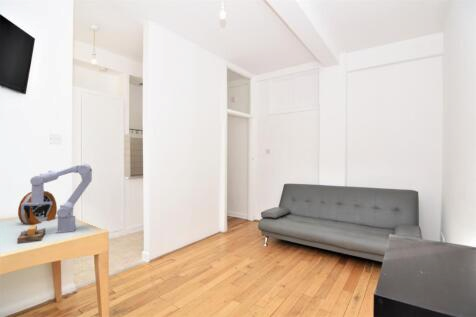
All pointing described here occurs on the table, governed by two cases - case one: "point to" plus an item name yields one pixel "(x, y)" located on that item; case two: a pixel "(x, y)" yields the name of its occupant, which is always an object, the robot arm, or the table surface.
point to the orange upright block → (32, 230)
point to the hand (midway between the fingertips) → (37, 217)
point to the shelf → (31, 236)
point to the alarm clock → (37, 210)
